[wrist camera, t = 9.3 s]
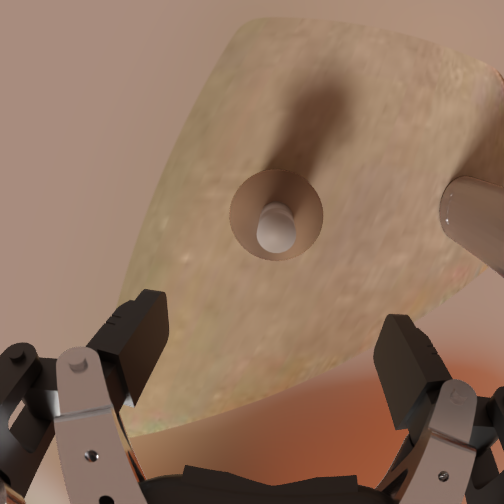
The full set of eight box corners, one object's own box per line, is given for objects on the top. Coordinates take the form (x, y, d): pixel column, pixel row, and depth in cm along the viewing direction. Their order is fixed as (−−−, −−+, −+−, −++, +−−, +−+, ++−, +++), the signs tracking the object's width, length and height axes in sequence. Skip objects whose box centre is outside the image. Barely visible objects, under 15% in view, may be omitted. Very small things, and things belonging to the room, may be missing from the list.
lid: (327, 174, 22) (341, 184, 18) (314, 260, 25) (323, 290, 20) (233, 165, 23) (221, 172, 18) (228, 252, 26) (217, 280, 21)
